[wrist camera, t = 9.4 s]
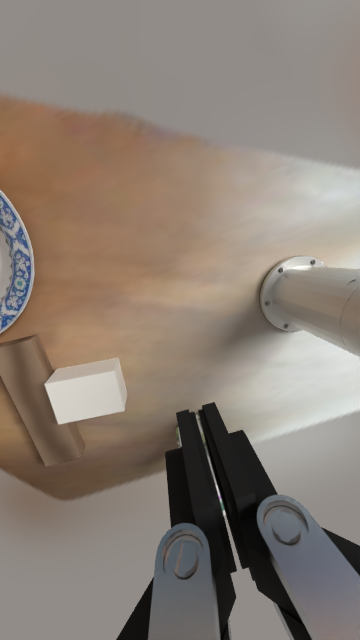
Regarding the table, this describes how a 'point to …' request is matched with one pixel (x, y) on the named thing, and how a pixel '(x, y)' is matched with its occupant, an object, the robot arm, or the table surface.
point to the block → (87, 390)
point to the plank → (37, 400)
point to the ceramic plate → (13, 264)
